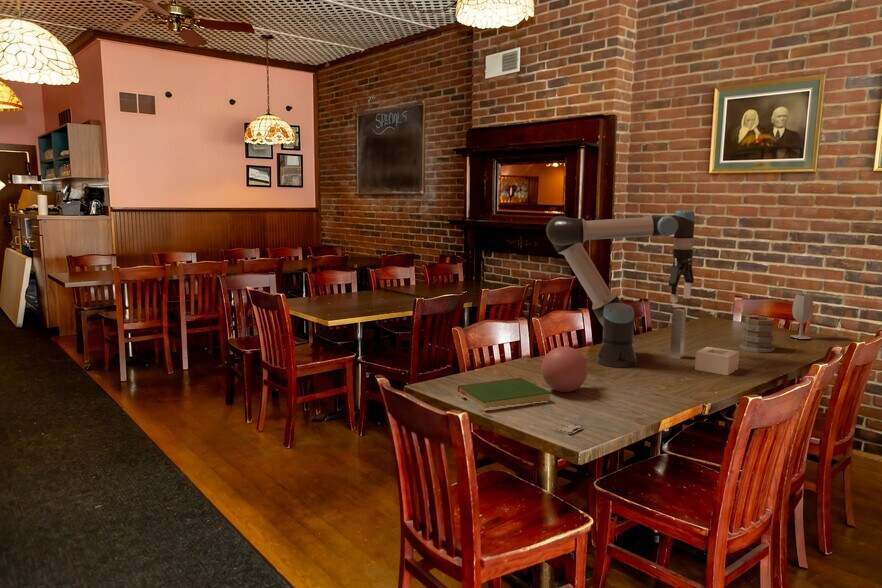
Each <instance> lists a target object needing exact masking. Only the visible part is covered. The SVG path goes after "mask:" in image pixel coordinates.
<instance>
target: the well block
mask: <svg viewBox="0 0 882 588" xmlns="http://www.w3.org/2000/svg"><path fill="white" fill-rule="evenodd" d="M739 359H740V351H738V350H732V349H726V348H720V347H719V348H718V347H711V346H706V347H703V348H702V349H699V350H698V351H695V362H694V363H695V364H694V370H695V371H700V372H705V371H706V373H712V374H718V375H723V376H729V375H731V374H732V373H734V372H736V371H737V370H738V369H739ZM735 370H736V371H735Z"/></svg>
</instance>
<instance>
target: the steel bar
mask: <svg viewBox="0 0 882 588" xmlns="http://www.w3.org/2000/svg"><path fill="white" fill-rule="evenodd" d="M671 315H672V317H671V318H672V320H671V335H670V337H671V338H670V354H669V355H670V356H669V357H670V358H672V359H679V360H680V359H682V357H683V358H684V356H685V339H686V338H685V337H686V336H685V335H686V322H687V321H686V318H687V309H684V308H683V309H682V308H675V309H672V314H671Z"/></svg>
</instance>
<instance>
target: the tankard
mask: <svg viewBox="0 0 882 588" xmlns="http://www.w3.org/2000/svg"><path fill="white" fill-rule="evenodd" d="M741 316H742V318H743V317H744V322H743V323H742V334H741V339H742V341H743V342H742V343H740V344H739V349H741V348H742V349H741V350H743V349H744V350H743V351H745V350H747V351H746V352H749V351H753V352H752V353H755V352H770V353H773V352H774V351H775V346H773V345H772V343H773V342H774V335H773V331H775V324H774V319H773V318H770V317H767V316H758V315H757V316H754V315H753V316H752V315H751V316H750V315H749V312H748V311H743V312H742V313H741ZM772 351H773V352H772Z"/></svg>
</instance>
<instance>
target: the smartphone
mask: <svg viewBox="0 0 882 588" xmlns="http://www.w3.org/2000/svg"><path fill="white" fill-rule="evenodd" d="M570 423H571V424H570ZM569 424H570V425H568V428H567V427H566V428H565V427H564V428H563V429H562V428H561V429H559V427H558V429H557V430H560V431H564V432H568V433H572V432H574V431H576V430H578V429H581V428H582V427H583V425H580V424H577V423H576V424H575V423H573V424H574V425H573V424H572V422H569ZM566 426H567V425H566ZM583 428H584V427H583Z"/></svg>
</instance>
